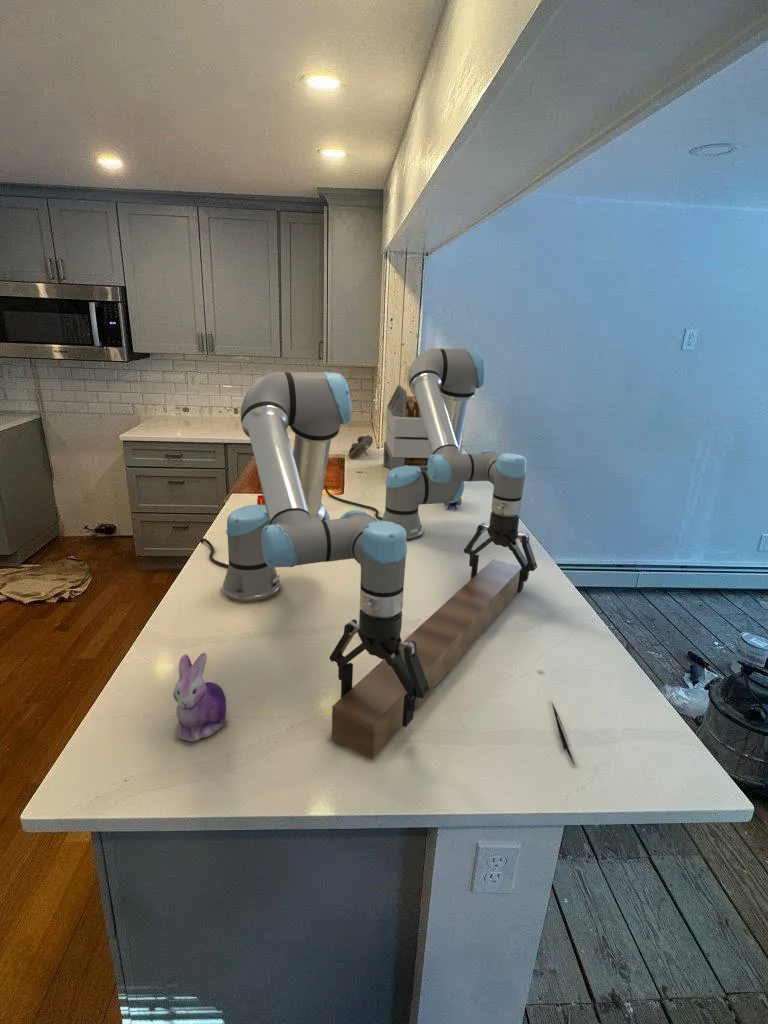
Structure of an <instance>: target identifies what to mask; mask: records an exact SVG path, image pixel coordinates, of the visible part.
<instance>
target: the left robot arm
mask: <svg viewBox="0 0 768 1024" xmlns="http://www.w3.org/2000/svg"><path fill="white" fill-rule="evenodd" d="M352 410H353V409H352V399H351V394H350V389H349V385H348V381H347V380H346V378H345V377H344V376H343V375H342V374H341V373H339V372H326V370H325V371H322V372H321V371H320V372H316V371H315V372H314V371H313V372H311V371H310V372H309V371H308V372H305V371H304V372H301V371H299V372H297V371H290V372H288V371H276V372H271V373H268V374H265V375H264V376H262V377H260V378H259V379H257V380H256V381H255V382H254V383H253V384H252V385H251V386H250V388H249V389H248V390H247V392H246V393H245V395H244V397H243V400H242V403H241V407H240V423H241V427H242V431H243V432H244V434H245V436H246V437H248V438H249V440H250V444H251V448H252V453H253V457H254V462H255V467H256V471H257V475H258V478H259V483H260V488H261V493H262V494H263V497H264V502H265V505H259V504H257V503H256V504H250V505H244V506H241V507H239V508H236V509H235V510H233V511H232V512H230V513H229V515H228V516H227V517H226V518H227V519H226V531H225V532H226V535H227V552H228V563H225V562H221V561H218V560H216V559H215V558H213V555H214V553H215V547H214V546H213V544H212V543H211V542H210V541H209V540H208V539H206V538H201V539H200V540H199V543H203V542H204V543H206V544H207V545H208V547H209V548H210V552H209V555H208V559H209V560H210V561H211V562H212V563H214V564H216V565H217V566H221V567H224V568H226V569H227V570H226V574H225V576H224V580H223V584H222V589H223V594H224V596H225V597H226V598H228V599H229V600H231V601H235V602H240V603H258V602H262V601H266V600H268V599H271V598H273V597H275V596H277V594H278V593H279V592H280V590H281V581H280V579H281V577H280V574H279V575H278V571H277V569H276V568H293V567H296V566H302V565H310V564H318V563H328V562H336V561H345V560H353V559H354V560H355V561H356V562H357V564H359V565H360V581H359V582H360V583H359V584H360V590H359V607H360V609H359V613H358V614H359V615H358V620H359V621H357V619H355V618H353V619H351V620H350V621H348V622H347V623H346V624H345V625H344V628H343V633H342V636H341V637H340V639H339V640H338V642H337V644H336V645H335V647H334V649H333V651H332V652H331V654H330V655H329V660H330V662H334V663H336V665H337V667H338V671H337V672H338V673H337V674H338V675H337V677H338V680H339V681H340V699H341V698H342V697H343V696H344V695H345V694H346V693H347V692H348V691H350V690H351V689H352V688H353V677H354V676H353V675H354V674H353V672H354V663H352V662H351V661H352V660H353V659H355V658H357V656H359V655H360V654H361V653H363V652H364V651H365V650H366V652H368V655H371V656H374V657H375V656H376V657H377V658H378V659H381V660H383V659H385V660H386V662H387V664H388V665H389V666H391V667H392V668H393V670H394V672H395V673H396V675H397V677H398V678H399V680H400V682H401V683H402V685H403V687H404V689H405V690H406V692H407V694H406V695H405V696H404V708H403V722H402V726H401V727H404V728H407V727H408V726H409V725H410V723H411V722H413V720H414V712H415V711H416V710H417V709H418V708H419V706H418V704H419V698H420V699H423V698H424V697H425V696H426V695H427V693H428V692H429V691H430V688H429V685H428V682H427V679H426V677H425V674H424V671H423V668H422V666H421V663H420V660H419V658H418V655H417V645H416V642H415V641H411V642H410V643H407V642H403V641H404V640H402V638H401V631H402V625H403V623H402V621H403V611H402V610H403V608H404V587H405V586H404V585H405V574H406V572H405V571H406V563H407V561H406V560H407V554H408V545H407V540H406V531H405V529H404V528H403V527H402V526H401V525H399V524H395V523H393V522H388V521H382V520H377V519H376V517H374V516H372V515H370V514H369V513H368V512H366V511H364V510H361V509H353V510H352V509H351V510H349V511H347V512H345V513H344V514H343V515H341V516H340V518H334V519H331V518H330V514H329V511H328V510H327V508H326V507H324V504H323V503H322V498H323V492H324V487H325V479H326V472H327V467H328V462H329V461H328V460H329V454H330V449H331V442H332V440H334V439H335V438H336V437H337V436H338V435H339V432H340V428H341V425H342V426H345V425H348V424H349V423H350V422H351V419H352V413H353V412H352ZM288 427H289V428H290V430H291V432H292V433H293V434H294V441H293V449H292V444H291V442H290V438H289V434H288V431H287V430H288ZM356 634H357V635H358V638H359V639H360V641H361V643H360V644H359V645H358V646H356V647H355V648H354V649H352V650H351V651H350V652H349V653H347V654H346V655H345V656H344V655H343V654H344V652H345V650H346V649H347V647H348V645H349V644H350V642H351V641H352V639H353V637H354V636H355V635H356ZM399 648H400V649H401V650H402V652H401V651H400V649H399ZM393 653H394V654H395V656H394V657H393V658H392V657H391V655H392V654H393ZM403 656H404V659H405V661H404V659H403ZM405 662H406V663H405ZM417 707H418V708H417Z"/></svg>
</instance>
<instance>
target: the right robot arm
mask: <svg viewBox="0 0 768 1024" xmlns="http://www.w3.org/2000/svg"><path fill="white" fill-rule="evenodd" d="M407 376H408V377H407V381H408V387H409V390H410V392H411V394H412V396H415V397H416V399H417V403H418V406H419V410H420V413H421V417H422V420H423V424H424V427H425V431H426V434H427V438H428V441H429V445H430V448H431V452H432V455H431V456H430V457H429V459H428V463H427V466H426V470H422V469H421V467H420V466H407V465H404V466H401V467H397V468H394V469H392V470H390V469H389V470H388V472H387V475H386V480H385V481H386V482H385V504H384V505H385V507H384V508H385V509H384V513H383V515H382V517H381V516H380V515H379V510H378V509H377V508H376V507H373V506H371V505H366V504H362V503H358V502H354V501H351V500H347V499H343V498H340V497H338V496H335V495H333V494H331V493H330V491H329V490H328V487H327V485H324V491H325V493H326V494H327V495H328V496H329V497H331V498H333V499H334V500H337V501H339V502H343V503H345V504H351V505H354V506H358V507H362V508H365V509H370V510H372V511H374V512H375V514H374V516H375V519H376V518H377V519H378V520H379V521H388V522H393V523H395V524H399V525H401V526H402V527H403V528H404V529H405V531H406V541H410V540H415V539H418V538H420V537H421V536H422V535H423V525H422V524H421V518H420V515H419V507H420V505H435V504H436V505H439V504H443V505H446V504H447V503H454V502H456V501H458V500H459V499H460V498H461V499H462V496H463V493H464V490H465V482H490V483H491V484H493V492H492V499H491V508H490V509H491V512H490V517H489V526H488V525H486V523H484V522H481V523H480V524H479V525H478V526H476V532H475V533H474V535H473V537H472V538H471V539H470V541H469V542H468V544H467V545H466V546H465V548H464V549H463V553H464V554H467V555H469V561H468V566H469V567H470V568H471V572H470V580H471V579H472V578H473V577H474V576H475V575H476V574H477V573H478V567H479V559H480V554H479V553H480V552H481V551H482V550H483V549H484V548H486V547H487V546H489V545H490V544H491V543H493V545H495V546H501V547H504V548H506V547H507V548H508V550H509V551H511V553H512V554H513V556H514V558H515V559H516V561H517V562H518V564H519V566H521V567H522V569H521V570H520V575H519V582H518V589H517V593H516V594H521V592H522V591H523V590H524V584H525V583H527V582H528V580H529V576H530V572H535V570H536V569H537V568H538V564H537V561H536V558H535V556H534V555H535V554H534V552H533V549H532V546H531V543H530V534H529V533H519V531H518V530H519V523H520V513H521V508H522V499H523V494H524V493H523V492H524V487H525V480H526V475H527V459H526V457H525V456H523V455H522V454H516V453H509V452H508V453H507V452H506V453H499V452H496V451H493V450H491V449H485V450H481V451H480V452H479V453H461V454H460V445H461V440H462V441H463V438H462V434H463V435H464V432H463V429H465V423H466V417H467V412H468V406H469V400H470V399H472V398H473V397H475V394H476V389H480V388H482V387H483V386H484V384H485V381H486V363H485V361H484V358H483V356H482V354H481V352H479V351H478V350H476V349H468V348H437V347H433V348H429V349H426V350H424V351H422V352H421V353H419V355H417V356H416V357H415V358H414V360H413V361H412V363H411V365H410V367H409V371H408V375H407ZM486 532H487V534H488V536H489V538H487V539H486V540H485V541H483V542H482V543H481V544H480V545H478V546H477V547H476V548H475V549H473V548H474V546H475V545H476V543H477V542H478V541H479V539H480V538H481V536H482V535H483V534H484V533H486ZM517 540H519V542H520V543H521V546H522V547H521V548H522V550H523V552H524V553H523V552H522V550H521V548H520V546H519V543H518V542H517Z"/></svg>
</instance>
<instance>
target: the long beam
mask: <svg viewBox="0 0 768 1024" xmlns="http://www.w3.org/2000/svg"><path fill="white" fill-rule="evenodd" d="M521 569H522V567H521V566H520V565H518V564H514V563H511V562H506V561H503V560H498V559H495V558H493V559H491V560H490V561H489V562H488V563H487V564H486V565H485V566H484V567H483V568H482V569H480V571H478V572H477V574H476V575H475V576H474V577H473V578H472V579H471V578H470V579H469V580H468V582H466V583H465V584H464V585H463V586H462V587H461V588H460V589H459V590H458V591H456V592H455V593H454V594H453V595H452V596H451V597H450V598H449V599H448V600H447V601H446V602H444V603H443V604H442V605H441V606H440V607H439V608H438V609H437V610H435V612H434V613H432V614H431V615H430V616H429V617H428V618H427V619H426V620H425V621H424V622H422V624H420V625H419V626H418V627H417V628H416V629H415V630H414V631H413V632H412V633H410V634H409V636H407V637H406V638H405V639H404V640H402V641H403V642H407V643H410V642H411V641H415V642H416V645H417V655H418V658H419V660H420V663H421V666H422V668H423V671H424V674H425V677H426V679H427V682H428V685H429V688H430V691H429V692H428V693H427V695H426V696H425V697H424V698H423V699H420V698H419V704H418V707H417V709H418V708H419V707H420V706H421V704H423V702H424V701H425V700H426V698H427V697H428V696H429V695H430V694H431V693H432V692H433V690H434V689H435V688H436V687H437V686H438V685H439V683H440V682H441V681H442V680H443V679H444V678H445V677H446V675H447V674H448V673H449V672H450V671H451V670H452V669H453V667H454V666H455V665H456V664H457V663H458V662H459V660H460V659H461V658H462V657H463V656H464V655H465V654H466V652H468V650H469V649H470V648H471V647H472V646H473V644H475V642H476V641H477V640H478V638H479V637H480V636H481V635H482V634H483V633H484V632H485V631H486V629H487V628H488V627H489V626H490V625H491V624H492V623H493V621H494V620H495V619H496V618H497V617H498V616H499V614H500V613H501V612H502V611H503V610H504V609H505V608H506V606H508V604H509V603H510V601H511V600H512V599H513V598H514V597H515V596H516V595H517V594H518V593H517V589H518V582H519V575H520V570H521ZM399 649H400V648H399ZM400 651H401V652H402V650H401V649H400ZM394 656H395V654H394V653H393V654H392V655H391V657H392V658H393V657H394ZM403 659H404V656H403ZM404 661H405V659H404ZM405 663H406V662H405ZM406 694H407V692H406V690H405V689H404V687H403V685H402V683H401V682H400V680H399V678H398V677H397V675H396V673H395V672H394V670H393V668H392V667H391V666H389V665H388V664H387V662H386V660H385V659H381V661H380V662H379V663H378V664H377V665H375V667H373V668H372V669H371V670H370V671H369V672H368V673H367V674H366V675H365V676H364V677H362V679H360V680H359V681H358V682H357V683H356V684H355V685H354V686H352V689H351V690H350V691H348V692H347V693H346V694H345V695H344V696H343V697H342V698H341V697H340V698H339V700H337V701H336V702H335V703H334V704H333V705H332V706H331V740H332V741H334V742H337V743H338V744H340V745H343V746H344V747H346V748H348V749H350V750H352V751H354V752H356V753H358V754H360V755H362V756H364V757H366V758H368V759H370V760H374V759H375V758H376V756H377V755H378V754H379V753H380V751H381V750H382V749H383V748H384V747H385V746H386V745H387V743H388V742H389V741H390V740H391V739H392V738H393V737H394V735H395V734H396V733H397V732H398V731H399V730H400V729H401V727H403V726H402V722H403V708H404V696H405V695H406Z"/></svg>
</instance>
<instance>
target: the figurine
mask: <svg viewBox="0 0 768 1024" xmlns="http://www.w3.org/2000/svg"><path fill="white" fill-rule="evenodd" d="M207 660H208V655H207V653H206V652H201V653H200V654H199V656H198V657H197V658H196V659H195V661H194V662H193V663H192V660H191V658H190V656H189V655H188V654H187V653H185V654H183V655H182V656H181V657H180V660H179V664H178V674H179V675H178V677H179V678H178V680H177V682H176V684H175V686H174V688H173V692H172V693H173V694H172V696H173V699H174V701H176V702H177V706H176V711H175V712H176V718H177V720H178V722H179V726H180V728H179V731H178V732H179V733H178V736H179V739H180V740H183V741H187V742H191V743H192V742H198V741H199V740H201V739H204V738H206V739H207V738H209V737H211V736H212V735H214V734H215V733H217V732H218V731H219V730H220V729H221V728H223V726H225V722H226V713H227V698H226V695H225V692H224V690H223V688H222V687H221V686H220V685H219V684H217V683H215V682H213V681H212V682H211V681H207V682H205V680H204V678H203V676H204V672H205V668H206V664H207Z"/></svg>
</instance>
